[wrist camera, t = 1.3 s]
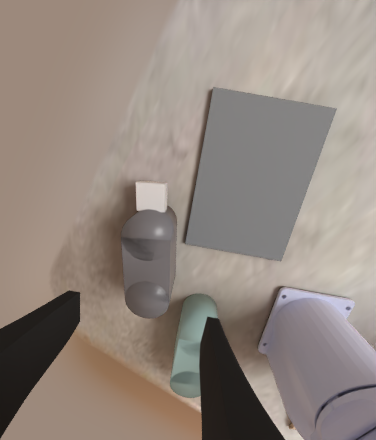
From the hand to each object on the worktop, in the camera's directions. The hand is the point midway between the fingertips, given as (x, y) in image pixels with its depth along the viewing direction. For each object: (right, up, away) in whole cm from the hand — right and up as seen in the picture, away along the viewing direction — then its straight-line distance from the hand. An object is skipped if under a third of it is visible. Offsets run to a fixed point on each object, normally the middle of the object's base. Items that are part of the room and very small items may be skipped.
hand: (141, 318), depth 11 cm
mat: (+8, +9, +7) cm, 14 cm away
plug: (-1, +4, +9) cm, 10 cm away
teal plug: (+3, -9, +13) cm, 16 cm away
